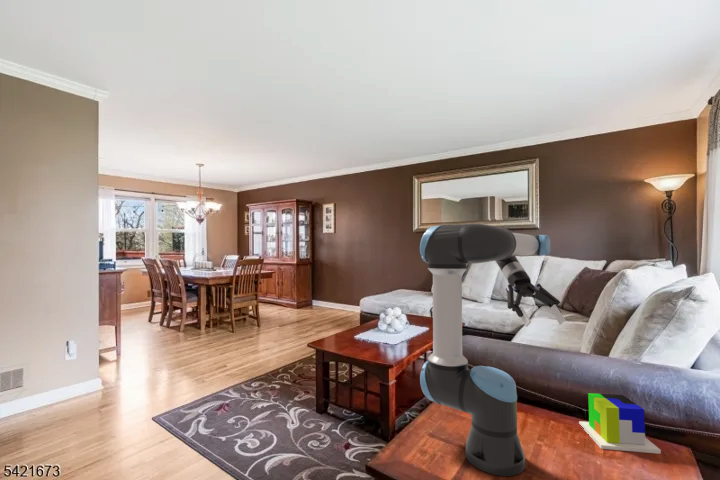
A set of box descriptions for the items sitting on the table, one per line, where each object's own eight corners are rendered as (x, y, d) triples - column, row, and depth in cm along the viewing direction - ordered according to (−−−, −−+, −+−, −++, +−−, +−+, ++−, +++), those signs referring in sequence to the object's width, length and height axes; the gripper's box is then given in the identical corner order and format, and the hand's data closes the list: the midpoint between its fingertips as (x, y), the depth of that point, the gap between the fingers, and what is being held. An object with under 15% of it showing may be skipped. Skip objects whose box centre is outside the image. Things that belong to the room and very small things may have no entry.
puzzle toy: (645, 444, 98) (644, 409, 98) (607, 442, 99) (606, 407, 100) (623, 427, 108) (622, 394, 108) (589, 425, 109) (588, 393, 110)
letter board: (601, 448, 98) (601, 444, 98) (579, 424, 112) (579, 420, 112) (660, 453, 96) (660, 449, 96) (630, 428, 109) (630, 424, 109)
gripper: (539, 281, 138) (570, 327, 123) (483, 283, 133) (508, 331, 118) (549, 269, 133) (582, 315, 118) (491, 270, 128) (518, 318, 113)
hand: (545, 323), depth 118 cm, fingers open, 13 cm apart
